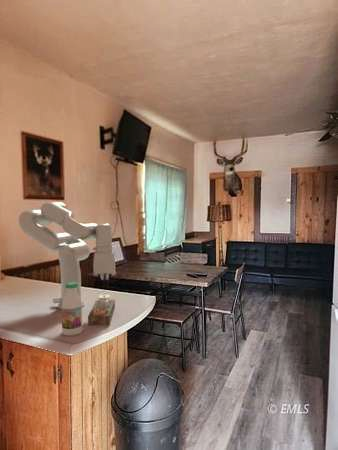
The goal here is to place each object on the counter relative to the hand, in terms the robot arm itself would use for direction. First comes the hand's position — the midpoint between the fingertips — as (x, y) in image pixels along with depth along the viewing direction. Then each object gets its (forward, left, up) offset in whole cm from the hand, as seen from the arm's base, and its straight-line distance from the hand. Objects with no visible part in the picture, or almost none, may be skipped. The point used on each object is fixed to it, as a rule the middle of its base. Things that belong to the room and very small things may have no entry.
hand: (105, 287), depth 151 cm
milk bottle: (-10, -26, -12) cm, 30 cm away
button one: (-1, 0, -9) cm, 9 cm away
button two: (-1, -7, -9) cm, 12 cm away
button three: (-1, -15, -11) cm, 19 cm away
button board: (-1, -7, -11) cm, 13 cm away
